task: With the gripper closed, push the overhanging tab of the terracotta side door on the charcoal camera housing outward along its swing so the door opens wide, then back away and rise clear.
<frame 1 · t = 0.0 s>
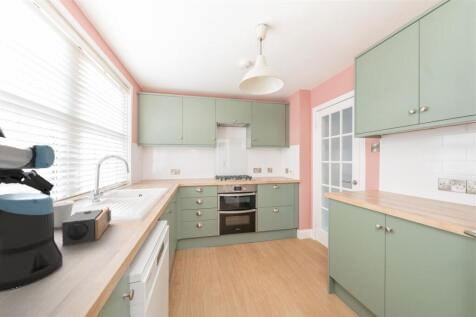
hand: (25, 203, 75), 15 cm above the table, tool tilted 35°, fingers open, 13 cm apart
cup: (61, 225, 92), on the table
camera housing: (85, 236, 80), on the table
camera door: (104, 221, 85), point 5 cm above the table, hinge at 0.0°
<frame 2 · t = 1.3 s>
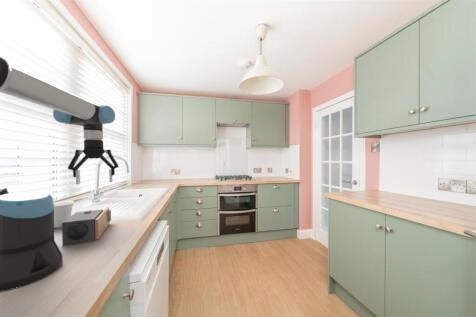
hand: (95, 182, 92), 21 cm above the table, tool pointing down, fingers open, 12 cm apart
nothing on the table moved.
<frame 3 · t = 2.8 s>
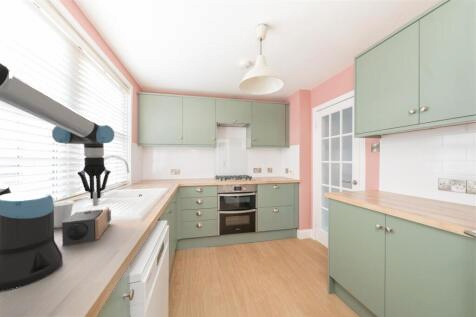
hand: (95, 205, 91), 10 cm above the table, tool pointing down, fingers closed
nothing on the table moved.
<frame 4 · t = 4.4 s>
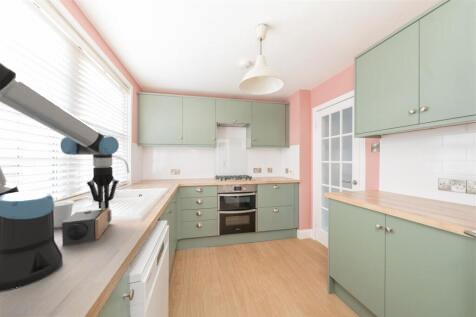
hand: (104, 214, 91), 5 cm above the table, tool pointing down, fingers closed
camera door: (104, 221, 85), point 5 cm above the table, hinge at 0.5°, touching gripper
everything else where it was.
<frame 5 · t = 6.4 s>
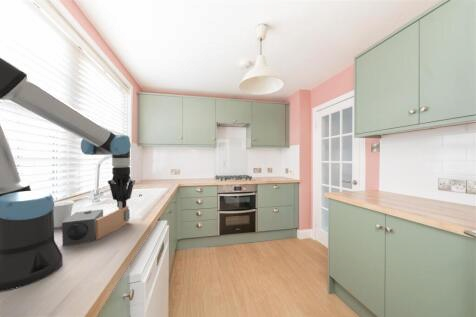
hand: (122, 213, 93), 5 cm above the table, tool pointing down, fingers closed
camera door: (114, 220, 85), point 5 cm above the table, hinge at 25.9°, touching gripper
everything else where it was.
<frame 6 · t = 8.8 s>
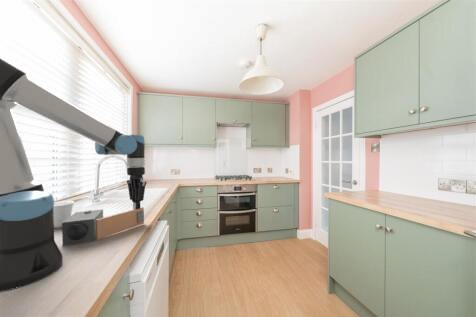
hand: (136, 214, 91), 5 cm above the table, tool pointing down, fingers closed
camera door: (122, 221, 84), point 5 cm above the table, hinge at 54.2°, touching gripper
everything else where it was.
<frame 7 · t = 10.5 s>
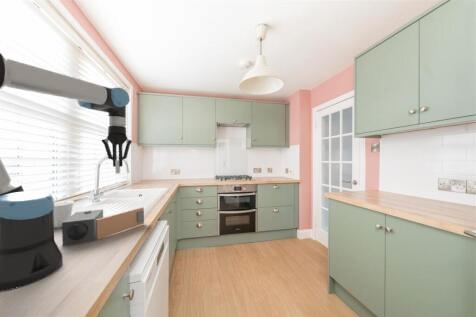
hand: (117, 173, 94), 26 cm above the table, tool pointing down, fingers closed
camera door: (122, 221, 84), point 5 cm above the table, hinge at 54.2°
everything else where it was.
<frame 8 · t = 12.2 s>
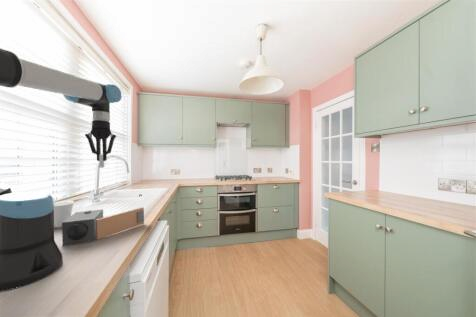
hand: (102, 167, 95), 28 cm above the table, tool pointing down, fingers closed
nothing on the table moved.
at the end: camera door at +54° (first picture: +0°); cup moved 0.2 cm from its start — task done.
